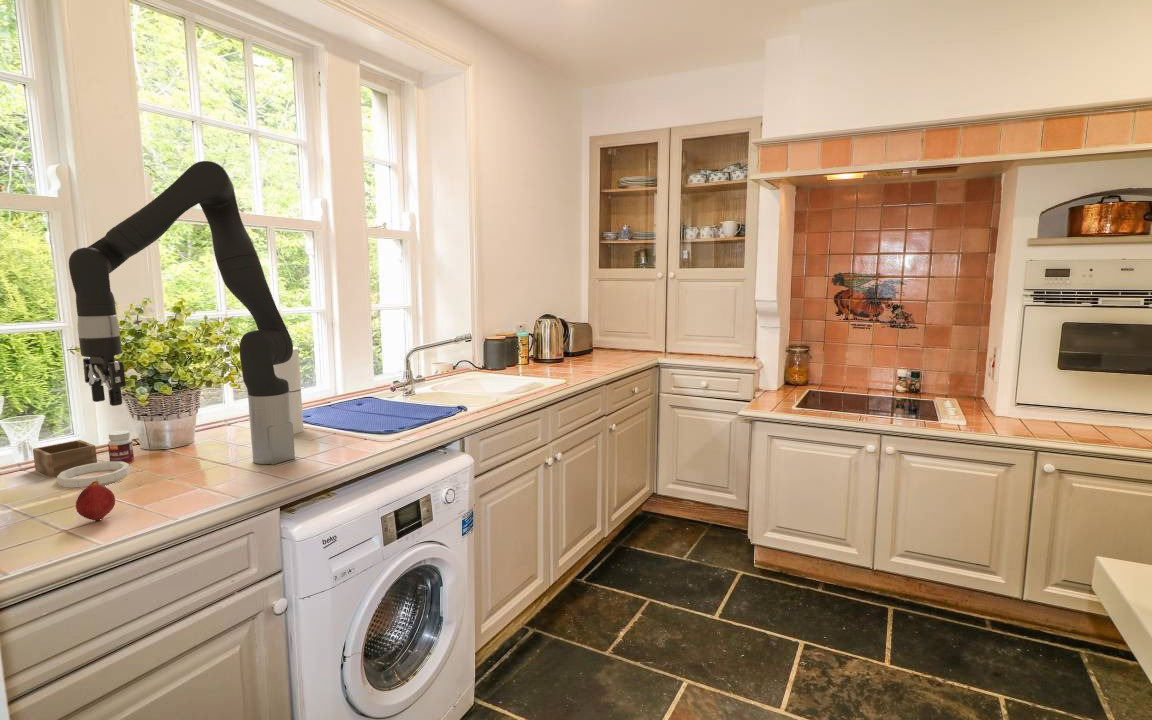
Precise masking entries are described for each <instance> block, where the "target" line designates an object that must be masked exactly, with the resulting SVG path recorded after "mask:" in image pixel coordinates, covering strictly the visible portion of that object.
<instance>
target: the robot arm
mask: <svg viewBox="0 0 1152 720" xmlns="http://www.w3.org/2000/svg"><path fill="white" fill-rule="evenodd" d="M196 205H199V206H200V207H201V209H202V211H203V214H204V216H205V218H206V220H207V224H208V225H209V229H210V233H211V240H212V247H213V253H214V258H215V262H216V264H217V267H218V270H219V273H220V276H221V279H222V281H223V283H224V285H225V287H227V289H228V290H229V292H231V294H232V295H233V296H234V297H235V298H236V299H237V300H238V301H239V302H240V303H241V304H242V305H243V306H244V307H245V309H247V310H248V312H249V313H250V315H251V316H252V318H253V320H254V322H255V326H256V328H257V330H256V329H255V330H249V331H247V332H246V333H245V334H243V335H242V336H241V339H240V341H239V347H238V349H239V350H238V351H239V358H240V359H239V361H240V365H241V373H242V379H243V384H244V385H245V387H246V390H247V400H248V413H249V414H248V415H249V424H250V425H249V426H250V427H249V429H250V439H251V452H252V453H251V454H252V462H253V463H255V464H259V465H268V464H269V465H276V464H280V463H283V462H286V461H289V460H293V459H296V451H295V440H294V439H295V438H294V437H295V436H294V435H295V434H293V423H292V422H291V415H290V400H289V385H288V382H287V380H285V379H281V378H278V377H277V376H276V375H275V372H274V367H273V365H277V364H281V363H285V362H287V361H288V360H289V359H290V358H291V356H292V354H293V347H294V343H293V340H292V337H291V335H290V332H289V330H288V328H287V326H286V324H285V321H284V320H283V318H282V315H281V313H280V312H279V310H278V307H277V304H276V303H275V300H274V297H273V295H272V292H271V290H270V287H269V285H268V282H267V279H266V276H265V273H264V269H263V266H262V264H261V261H260V257H259V255H258V253H257V250H256V248H255V246H254V244H253V242H252V239H251V237H250V236H249V233H248V231H247V230H246V228H245V225H244V223H243V221H242V218H241V214H240V211H239V207H238V202H237V196H236V193H235V188H234V183H233V182H232V180H231V178H230V175H229V174H228V172H227V171H226V170H225V169H224V167H223V166H222V165H221V164H219V163H217V162H214V161H211V160H199V161H197V162H195V163H193V164H192V165H191V166H190V167H188V168H187V169H186V170H185V171H184V172H183V173H182V174H181V175H180V176H179V177H178V178H177V179H176V180H174V181H173V183H171V184H170V185H169V186H168V187H167V188H166V189H165V190H163V191H162V192H161V193H160V194H159V195H157V197H155V198H153V200H151V201H150V202H148V203H147V204H146V205H144V206H143V207H142V208H140V209H139V210H138V211H136V212H134V213H133V214H131V215H130V216H128V217H127V218H126V219H124V220H122V221H121V222H119V223H117V225H115V226H113V227H112V228H111V229H109V230H108V231H107V232H106V233H105V235H104V236H103V237H101V238H100V239H98V240H96V241H95V242H94V243H92V244H90V245H89V246H86V247H81V248H77V249H75V250H74V251H73V252H72V253H70V254H71V255H70V256H69V259H68V269H69V275H70V278H71V283H72V285H73V286H72V287H73V289H74V292H75V293H74V294H75V304H76V305H75V306H76V313H77V314H76V315H77V333H78V342H79V351H80V352H79V353H80V355H81V356H82V357H83V359H82V362H83V371H84V372H83V374H84V381H85V383H86V384H88V386H89V387H90V389H91V396H92V397H91V398H92V402H95V403H98V402H104V401H105V400H106V396H105V389H104V384H105V385H106V388H107V390H108V391H107V392H108V400H109V405H110V406H113V407H115V406H121V405H122V404H123V398H122V389H123V388H125V387H126V386H127V383H126V375H125V369H124V368H125V367H124V363H123V361H122V360H118V361H116V360H115V356H118V355H121V354H122V352H123V350H122V340H121V334H120V333H121V331H120V326H119V325H120V324H119V321H118V316H117V310H116V301H115V296H114V294H113V292H112V291H111V281H110V274H111V273H112V272H114V271H115V270H116V269H117V268H119V267H120V266H122V265H123V263H125V262H126V261H127V260H128V259H130V258H131V257H132V256H135V255H137V254H138V253H140V252H141V251H143V250H144V249H146V248H147V247H149V246H150V245H152V244H153V243H155V242H156V241H157V240H158V239H160V238H161V237H162V236H163V235H164V234H165V233H166V232H167V231H168V230H169V229H170V227H172V226H173V224H174V223H175V222H176V221H177V220H178V219H179V218H180V217H181V216H182V215H183V214H184V213H186V212H187V211H189V210H190V209H192V208H194V207H195V206H196Z"/></svg>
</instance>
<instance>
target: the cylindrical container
mask: <svg viewBox="0 0 1152 720" xmlns="http://www.w3.org/2000/svg"><path fill="white" fill-rule="evenodd" d="M299 353H300V352H299V347H295V346H293V354H292V356H291V358H290V359H289V360H288V361H287V362H285V363H281V364H277V365H273V367H274V372H275V375H276V376H277V377H278V378H281V379H285V380H287V382H288V385H289V400H290V415H291V422H292V423H293V435H295V434H299V433H301V432H304V419H303V417H304V416H303V415H304V414H303V403H302V400H303V399H302V387H301V386H302V385H301V371H300V370H301V369H300V357H299Z"/></svg>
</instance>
